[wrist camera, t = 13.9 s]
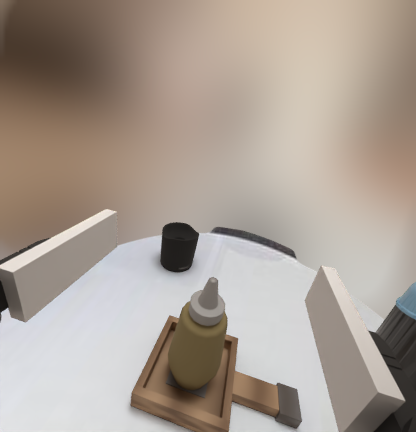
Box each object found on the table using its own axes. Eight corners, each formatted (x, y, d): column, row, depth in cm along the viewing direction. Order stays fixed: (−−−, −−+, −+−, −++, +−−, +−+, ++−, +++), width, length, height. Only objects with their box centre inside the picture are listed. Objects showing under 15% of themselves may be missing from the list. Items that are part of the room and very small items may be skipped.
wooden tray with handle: (289, 368, 38) (294, 357, 37) (302, 474, 26) (311, 463, 25) (167, 326, 41) (169, 315, 40) (130, 405, 29) (131, 392, 28)
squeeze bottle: (166, 344, 37) (181, 258, 30) (212, 345, 38) (237, 263, 31) (162, 401, 29) (180, 304, 22) (219, 399, 31) (253, 308, 24)
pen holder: (154, 269, 55) (158, 235, 51) (164, 249, 64) (168, 219, 60) (190, 276, 55) (196, 243, 51) (195, 256, 64) (201, 226, 60)
